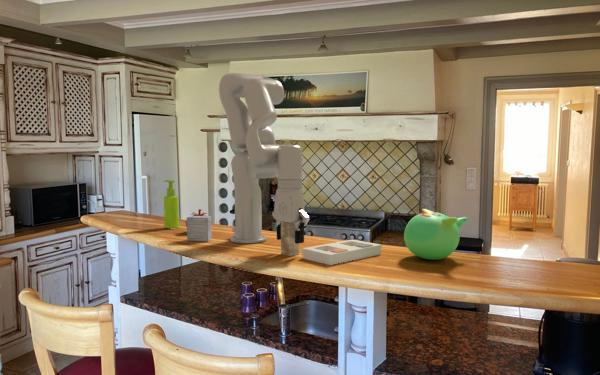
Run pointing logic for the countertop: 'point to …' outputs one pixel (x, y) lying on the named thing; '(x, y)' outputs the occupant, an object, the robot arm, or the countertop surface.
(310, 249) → the socket block
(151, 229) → the countertop surface
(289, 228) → the maple peg
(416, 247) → the toy bird
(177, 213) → the soap dispenser
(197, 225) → the grey gift box
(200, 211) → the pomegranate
